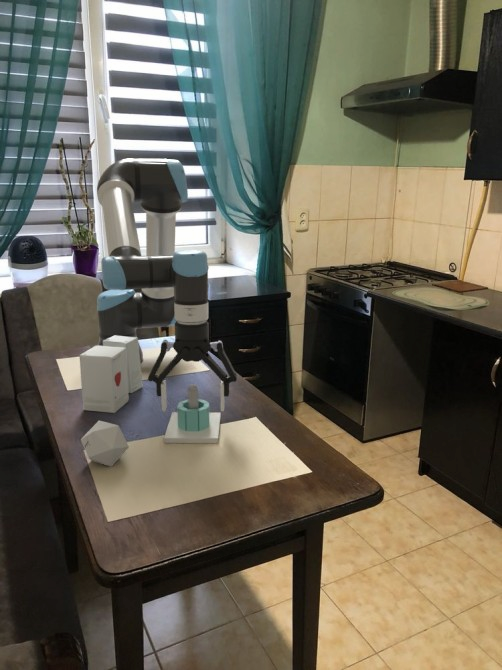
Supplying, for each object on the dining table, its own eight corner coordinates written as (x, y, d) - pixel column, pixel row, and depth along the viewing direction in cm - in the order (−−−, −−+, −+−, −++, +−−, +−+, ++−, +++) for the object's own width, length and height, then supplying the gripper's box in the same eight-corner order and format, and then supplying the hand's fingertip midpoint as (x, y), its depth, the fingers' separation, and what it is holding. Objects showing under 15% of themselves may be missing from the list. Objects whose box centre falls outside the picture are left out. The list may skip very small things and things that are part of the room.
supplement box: (115, 414, 136) (111, 357, 132) (82, 410, 137) (77, 354, 133) (130, 400, 144) (127, 346, 140) (99, 397, 146) (95, 344, 142)
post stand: (172, 416, 134) (171, 374, 131) (220, 417, 134) (220, 374, 131) (164, 442, 121) (162, 395, 118) (217, 443, 121) (217, 396, 118)
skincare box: (143, 387, 153) (140, 337, 149) (130, 394, 148) (127, 342, 144) (118, 383, 157) (115, 333, 153) (105, 390, 151) (101, 339, 147)
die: (91, 452, 118) (67, 430, 110) (126, 428, 119) (105, 405, 112) (104, 481, 112) (80, 459, 105) (141, 456, 114) (119, 433, 106)
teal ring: (180, 418, 131) (179, 398, 129) (210, 418, 131) (209, 399, 129) (176, 431, 124) (176, 411, 122) (208, 431, 124) (207, 411, 123)
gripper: (132, 324, 117) (136, 415, 122) (247, 325, 117) (246, 415, 123) (138, 316, 124) (143, 402, 130) (247, 317, 124) (246, 402, 130)
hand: (193, 408), depth 126 cm, fingers open, 13 cm apart
